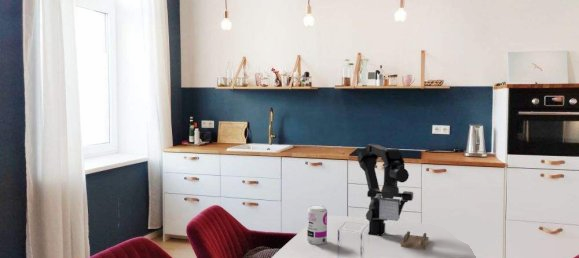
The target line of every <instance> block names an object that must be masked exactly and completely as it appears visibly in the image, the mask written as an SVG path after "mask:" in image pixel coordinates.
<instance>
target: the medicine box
mask: <svg viewBox="0 0 579 258" xmlns="http://www.w3.org/2000/svg"><path fill="white" fill-rule="evenodd" d="M400 200H401V198H393V199H389V198H382V197H381V199H380V215H379V219H385V221H386V220H387V221H395V222H398V221H399V220H400V218H401V217H400V216H401V214H400V215H399V208H400Z"/></svg>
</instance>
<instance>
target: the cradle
mask: <svg viewBox="0 0 579 258" xmlns="http://www.w3.org/2000/svg"><path fill="white" fill-rule="evenodd" d="M429 241H430V240H429V236H427V233H423V235H422V236H421V235H414V234H411V231H408V230H407V232H406V233H405V234H404V235H403V238H402V240H401V242H400V247H404V248H411V249H412V248H413V249H420V250H426V249H427V246H428V244H429Z"/></svg>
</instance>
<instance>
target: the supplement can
mask: <svg viewBox="0 0 579 258" xmlns="http://www.w3.org/2000/svg"><path fill="white" fill-rule="evenodd" d="M306 231H307V233H306V235H307V236H306V237H307V238H306V240H307V242H308V243H309V244H311V245H323V244H325V243H326V242H327V241H328V239H327V238H328V237H327V235H328V234H327V233H328V210H327V208H326V206H325V205H324V206H323V205H316V204H315V205H310V206H309V207H308V209H307V230H306Z"/></svg>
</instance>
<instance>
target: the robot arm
mask: <svg viewBox="0 0 579 258" xmlns="http://www.w3.org/2000/svg"><path fill="white" fill-rule="evenodd" d="M379 157H380V158H381V159H380V160H381V161H382V162H383V164H382V167H383V185H382V189H381V190H380V186H379V181H378V178H377V173H376V166H377V160H378V159H379ZM356 158H357V159H356V160H357V162H358V164H359V167H360V168H361V170H362V171H364V175H365V178H366V185H367V188H368V191H367V193H366V194H367V198H370V203H369V205H368V210H367V212H366V214H365V218H366V220H368V221H369V224H368V226H369V227H368V233H367V234H368V235H372V236H373V235H375V236H383V235H384V234H385V233H386V223H385V221H386V222H387V221H388V220H385V219H379V215H380V199H381V198H389V199H395V198H400V208H399V215H400V216H401V214H402V211H403V207H404V206H405V203H408V202H409V201H410V202H411V201H413V200H414V193H413V191H409V190H408V191H405V190H403V192H400V190H399V189H400V188H399V186H398V182H399V183H405V182H407V181H408V180H409V178H410V177H409V176H410V174H409V172H408V170H407V169H406V168H405V160H404V157H403V155H402V152H401V150H400V149H399V148H388V147H385V146H382V145H380V144H378V143H369V144H367V145H366V147H364V148H363V149H362V150H361V149H360V151H359V152H358V154H357V157H356Z"/></svg>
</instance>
